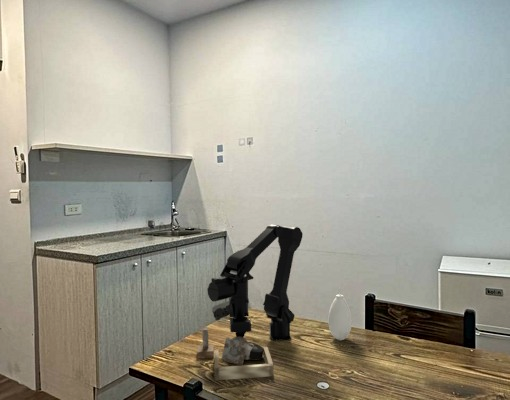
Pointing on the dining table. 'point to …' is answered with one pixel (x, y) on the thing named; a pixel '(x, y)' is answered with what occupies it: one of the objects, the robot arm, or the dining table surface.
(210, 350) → the stand rod
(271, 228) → the robot arm
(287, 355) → the dining table surface
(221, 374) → the cradle
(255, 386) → the dining table surface
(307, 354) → the dining table surface
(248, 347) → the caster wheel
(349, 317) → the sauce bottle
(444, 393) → the dining table surface
